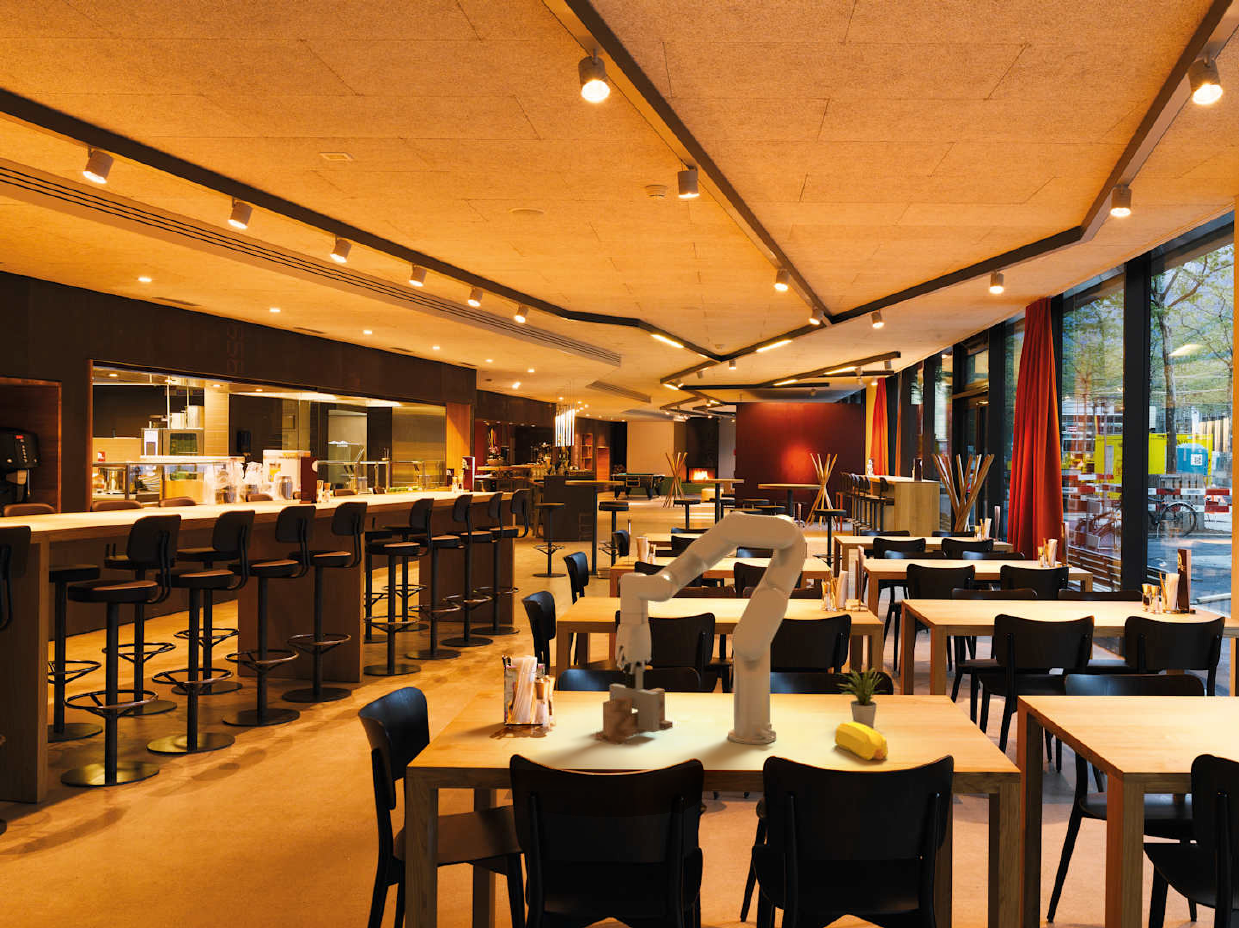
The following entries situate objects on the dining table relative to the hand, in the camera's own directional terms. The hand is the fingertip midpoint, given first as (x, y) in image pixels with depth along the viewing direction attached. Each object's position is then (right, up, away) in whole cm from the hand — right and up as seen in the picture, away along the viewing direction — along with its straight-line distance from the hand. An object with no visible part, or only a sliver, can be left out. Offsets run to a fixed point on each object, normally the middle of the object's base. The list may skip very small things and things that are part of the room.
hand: (634, 686), depth 257 cm
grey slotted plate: (0, -11, 0) cm, 11 cm away
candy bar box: (-31, -13, +10) cm, 35 cm away
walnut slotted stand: (0, -12, 0) cm, 12 cm away
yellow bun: (+56, -12, -19) cm, 61 cm away
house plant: (+64, -12, +7) cm, 65 cm away
